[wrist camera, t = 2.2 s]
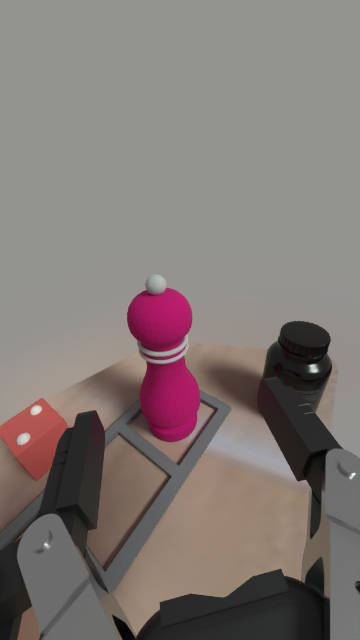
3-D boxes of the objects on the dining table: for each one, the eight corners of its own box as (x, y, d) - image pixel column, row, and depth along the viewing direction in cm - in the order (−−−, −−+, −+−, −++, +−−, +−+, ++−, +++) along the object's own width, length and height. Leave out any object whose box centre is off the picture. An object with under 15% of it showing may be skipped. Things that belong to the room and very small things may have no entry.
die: (36, 481, 25) (13, 454, 22) (16, 453, 28) (-7, 426, 25) (77, 443, 29) (61, 415, 25) (56, 422, 31) (39, 394, 28)
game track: (-59, 856, 11) (-67, 862, 11) (-97, 632, 17) (-103, 631, 17) (230, 409, 31) (231, 406, 31) (167, 374, 37) (167, 372, 37)
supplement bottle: (317, 398, 32) (347, 326, 25) (307, 439, 27) (340, 365, 21) (266, 378, 35) (281, 310, 29) (250, 412, 31) (262, 340, 24)
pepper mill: (137, 409, 32) (102, 271, 21) (184, 388, 35) (175, 255, 23) (157, 458, 27) (123, 305, 16) (211, 429, 29) (215, 279, 18)
